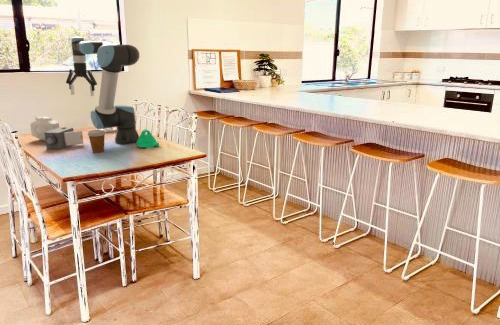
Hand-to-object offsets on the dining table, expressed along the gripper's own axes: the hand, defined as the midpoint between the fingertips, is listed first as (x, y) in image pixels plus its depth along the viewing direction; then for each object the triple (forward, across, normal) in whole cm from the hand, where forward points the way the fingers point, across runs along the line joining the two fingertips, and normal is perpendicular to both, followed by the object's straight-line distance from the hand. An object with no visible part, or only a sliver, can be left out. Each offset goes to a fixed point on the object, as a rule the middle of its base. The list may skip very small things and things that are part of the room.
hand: (82, 95), depth 268 cm
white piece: (+29, -4, -23) cm, 38 cm away
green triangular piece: (+25, -53, +23) cm, 62 cm away
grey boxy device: (+27, +1, +29) cm, 40 cm away
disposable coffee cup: (+25, -28, +38) cm, 54 cm away
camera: (+29, +19, +15) cm, 38 cm away
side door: (+26, -7, +27) cm, 38 cm away
